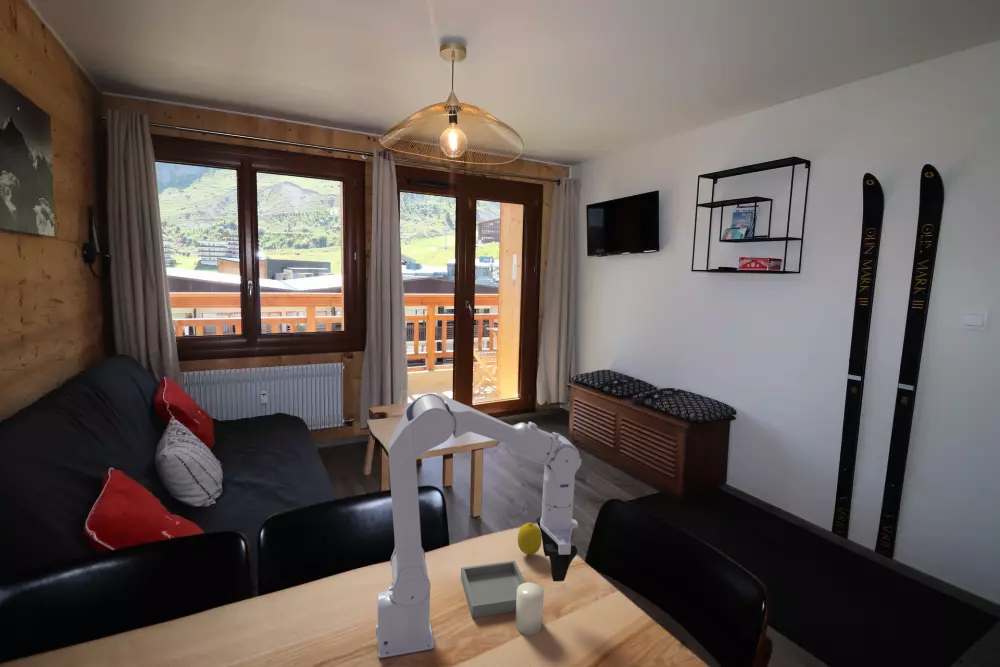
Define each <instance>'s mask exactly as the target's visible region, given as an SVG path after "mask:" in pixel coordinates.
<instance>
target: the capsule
mask: <svg viewBox="0 0 1000 667" xmlns="http://www.w3.org/2000/svg"><path fill="white" fill-rule="evenodd" d="M544 594H545V593H544V589H543V587H542V586H541V585H539V584H537V583H535V582H529V581H527V582H525V583H523V584H521V585H519V586H518V588H517V599H516V611H515V623H514V624H515V628H516V630H517V631H518V632H519V633H521V634H523V635H526V636H534V635H537V634H538V633H540V632H541V630H542V629H543V612H544V598H545V597H544Z"/></svg>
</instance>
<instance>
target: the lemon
mask: <svg viewBox="0 0 1000 667" xmlns="http://www.w3.org/2000/svg"><path fill="white" fill-rule="evenodd" d="M517 546H518V548H519V550H520V551H521V553H523V554H525V555H526V556H531V555H535V554H536V553H537V552H539V550H540V548H541V546H542V536H541V531H540V528H539V526H538V525H536V524H535V523H532V522H527V523H525V524H523V525H521V527H520V529H519V531H518V534H517Z"/></svg>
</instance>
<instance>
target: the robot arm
mask: <svg viewBox="0 0 1000 667" xmlns="http://www.w3.org/2000/svg"><path fill="white" fill-rule="evenodd" d="M444 399H445V400H444ZM444 399H443V398H442V397H441V396H439V395H438V394H436V393H424V394H421V395H419V396H418V397H417V398H416V399H414V400H413V401H412V402H410V404H408V405H407V406H406V408H405V411H404V413H403V416H402V418H401V420H400V422H399V423H398V425H397V427H396V429H395V430H394V432H393V435H391V438H390V439H389V441H388V446H387V452H388V466H389V478H390V479H389V480H390V481H389V482H390V491H391V492H390V493H391V494H390V495H391V506H392V508H391V509H392V521H393V534H394V549H393V552H392V554H391V557H390V565H391V575H392V582H391V585H390V586H389V588H388V589H386V590H385V591H381V592H378V593H377V596H376V597H377V599H376V600H377V604H376V605H377V624H375V637H377V652H378V654H377V655H378V658H379V659H383V658H389V657H394V656H399V655H400V656H401V655H407V654H411V653H417V652H423V651H427V650H433V649H434V648H435V641H434V636H433V635H434V634H433V631H432V625H431V619H430V616H431V615H430V614H431V580H430V578H429V575H428V568H427V562H426V553H425V550H424V549H423V547H422V537H421V536H422V535H421V518H420V502H419V488H418V487H419V485H418V472H417V471H418V470H417V469H418V468H417V460H418V459H419V458H420V457H421V456H422V455H423V454H424V453H426V452H428V451H430V450H432V449H434V448H436V447H438V446H440V445H441V444H444V443H445V442H446V441H448V440H449V439H450V437H451V436H453V437H454V439H458V438H460V437H462V435H465V434H467V433H469V432H470V433H474V434H477V435H479V436H482V437H485V438H488V439H492V440H494V441H498V442H501V443H504V444H506V445H507V446H508V447H507V448H508V450H509V452H510V453H511V454H514V455H517V456H518V457H522V458H525V459H527V460H530V461H532V462H535V463H538V464H540V465H544V469H543V483H542V486H543V487H542V500H541V516H540V517H537V518H536V519H535V520H536V523H537V527H538V528H539V530H540V532H541V544H542V548H543V553H544V556H545V557H548V558H549V562H550V563H549V564H550V572H551V578H552V581H553V582H564V581H565V579H566V576H567V573H568V570H569V568H570V565H571V564H572V562H573V560H574V558H575V557H576V556H577V555H578V548H577V546H576V545H572V544H571V537H572V533H573V532H572V531H573V529H577V528H578V527H579V523H578V521H577V520H576V519H574V518H573V510H574V507H573V506H574V491H575V477H576V476H575V474H576V473H577V471H578V470H579V468H580V467H581V465H582V460H583V459H582V458H581V456H580V452H579V450H578V448H576V446H575V445H573V443H571V441H569V439H567V438H566V437H565V436H564V435H561V433H560V432H559V433H558V432H554V431H552V432H551V433H550V432H548V431H545V430H542V429H540V428H538V425H537V424H536V423H535V422H532V421H528V423H525V422H518V423H516V424H514V425H511V424H509V423H506V422H504V421H503V420H500V419H498V418H496V417H494V416H491V415H489V414H487V413H484V412H482V411H480V410H477V409H475V408H473V407H471V406H469V405H466V404H464V403H461V402H459V401H457V400H454V399H453V398H448V397H444Z"/></svg>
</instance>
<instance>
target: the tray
mask: <svg viewBox="0 0 1000 667" xmlns="http://www.w3.org/2000/svg"><path fill="white" fill-rule="evenodd" d="M519 568H520V567H519V566H518V564H517V563H516V561H515V560H510V561H503V562H495V563H488V564H481V565H479V564H478V565H472V566H471V565H470V566H465V567H460V581H461V584H462V587H463V590H464V594H465V597H466V598H465V599H466V602H467V605H468V607H469V611H470V615H471V618H472V619H475V618H481V617H488V616H494V615H500V614H505V613H506V614H507V613H513V612H514V613H515V612H516V599H517V588H518V586H519V585H521V584H523V583H526V580H525V578H524V576H523V575H522V572H521V570H520V569H519Z"/></svg>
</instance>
